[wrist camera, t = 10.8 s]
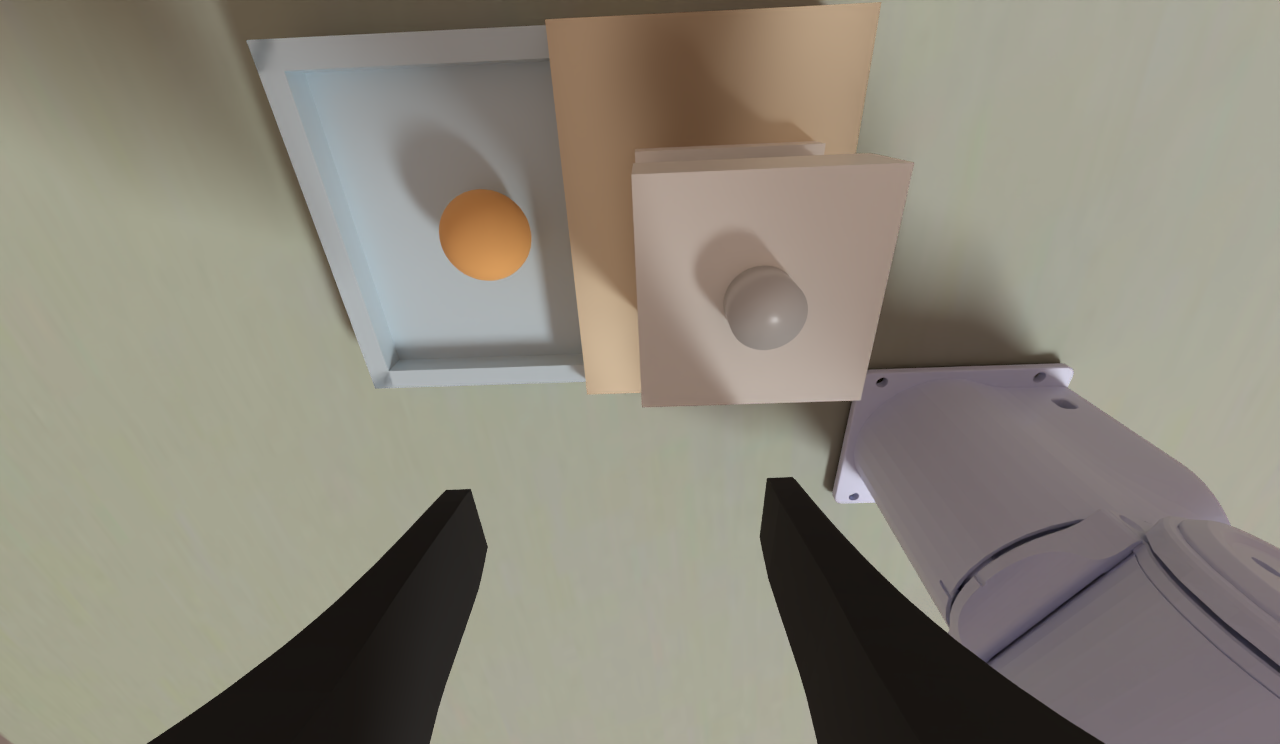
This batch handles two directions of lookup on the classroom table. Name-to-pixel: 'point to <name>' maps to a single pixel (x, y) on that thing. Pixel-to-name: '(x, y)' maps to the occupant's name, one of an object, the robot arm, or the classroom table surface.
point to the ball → (485, 234)
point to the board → (684, 126)
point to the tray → (432, 195)
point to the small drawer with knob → (761, 270)
